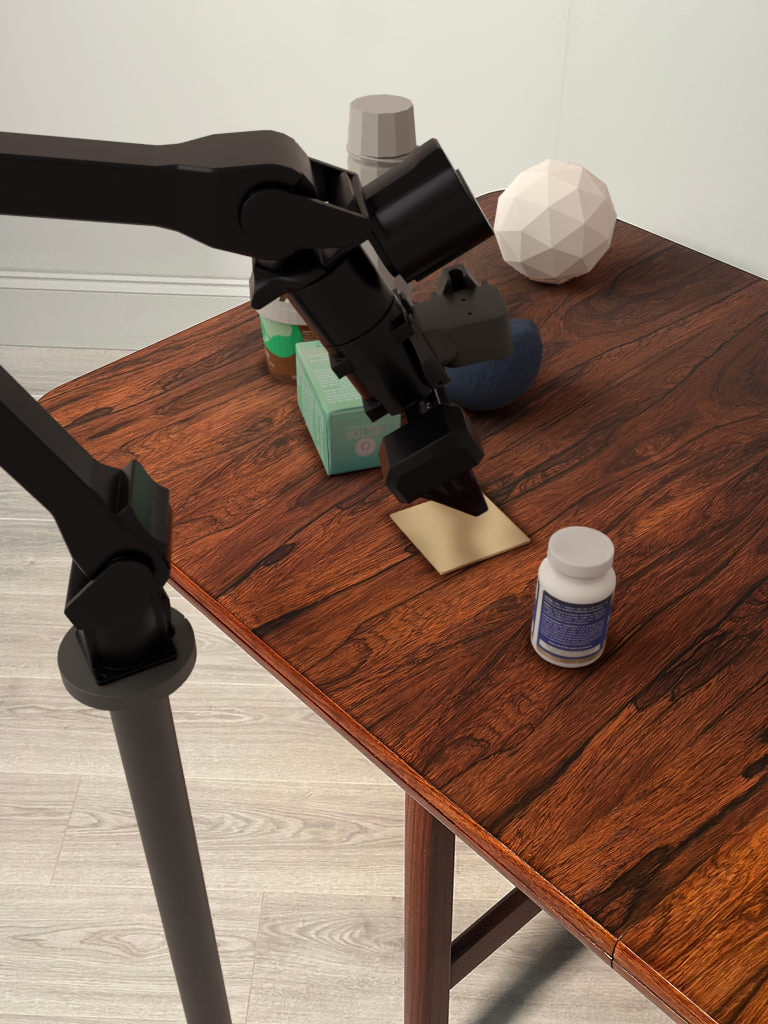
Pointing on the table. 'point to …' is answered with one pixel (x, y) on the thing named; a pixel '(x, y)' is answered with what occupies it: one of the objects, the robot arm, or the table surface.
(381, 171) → the water bottle
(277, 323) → the food container
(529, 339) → the decorative stone
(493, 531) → the sticky note
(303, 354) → the box
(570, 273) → the geometric sphere
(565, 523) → the table surface
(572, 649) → the pill bottle
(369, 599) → the table surface
